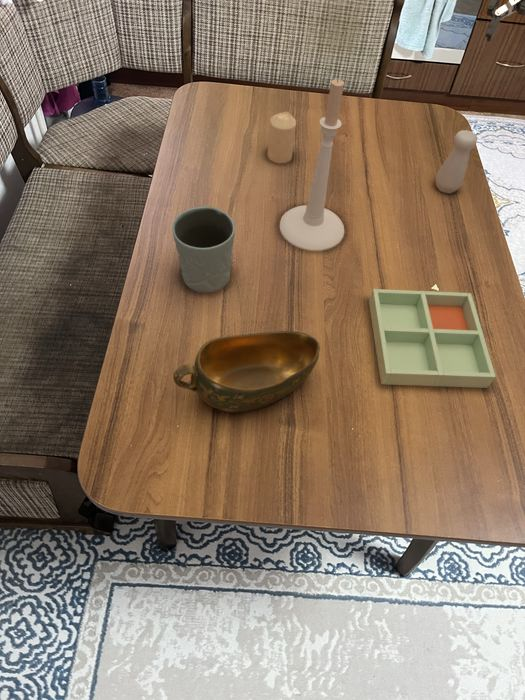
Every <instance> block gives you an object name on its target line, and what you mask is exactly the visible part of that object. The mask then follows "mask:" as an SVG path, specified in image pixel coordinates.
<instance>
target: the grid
mask: <svg viewBox="0 0 525 700" xmlns="http://www.w3.org/2000/svg"><path fill="white" fill-rule="evenodd" d="M368 304H369V311H370V318H371V325H372V331H373V339H374V345H375V352H376V359H377V366H378V373H379V377H380V378H379V379H380V380H379V381H380V384H381V385H393V386H420V387H421V386H422V387H448V388H449V387H452V388H482V389H483V388H484V389H488V388H489V387H490V385H491V384H492V383H493V381H494V380H495V379H496V377H497V376H496V372H495V369H494V366H493V363H492V360H491V359H492V358H491V356H490V352H489V349H488V346H487V345H488V344H487V342H486V339H485V336H484V332H483V329H482V325H481V321H480V318H479V315H478V312H477V309H476V305H475V302H474V298H473V295H472V293H471V292H455V291H435V290H434V291H431V290H407V289H384V288H373V289H372V291H371V294H370V297H369V300H368Z"/></svg>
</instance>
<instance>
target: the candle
mask: <svg viewBox="0 0 525 700" xmlns="http://www.w3.org/2000/svg"><path fill="white" fill-rule="evenodd" d="M268 128H269V130H268V142H267V158H268V160H270V161H271V162H273V163H275V164H286V163H289V162H290V161H291V160H292V159H293V152H294V145H295V137H296V128H297V120H296V118H294V116H293V115H292V114H291V113H290V112H289V111H282V112H279V113H276V114H274V115H272V116H271V117H270V119H269V127H268Z"/></svg>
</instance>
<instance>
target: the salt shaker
mask: <svg viewBox="0 0 525 700" xmlns="http://www.w3.org/2000/svg"><path fill="white" fill-rule="evenodd" d="M477 141H478V136H477V134H476V133H475V132H473V131H471V130H469V129H462V130H459V131H458V132H457V133H456V134H455V136H454V138H453V144H454V146H453V148H452V149H451V150H450V153H448V155H447V156H446V159H445V161H444V162H443V163H442V164H441V167H440V168H439V170H438V171H437V173H436V176H435V181H434V182H435V187H436V188H437V190H438V191H439V192H440V193H444V194H448V195H450V194H453V193H455V192H457V191H458V190H459V189H460V188H461V187H462V186H463V185H464V180H465V176H466V170H467V166H468V162H469V158H470V153H471V150H472V149H474V148H476V145H477Z"/></svg>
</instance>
